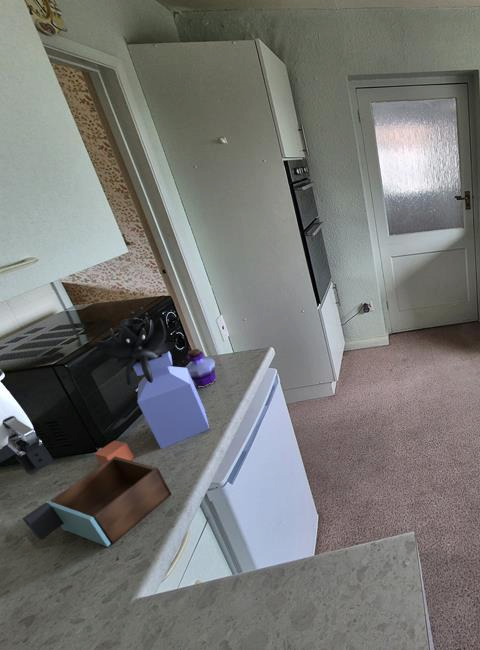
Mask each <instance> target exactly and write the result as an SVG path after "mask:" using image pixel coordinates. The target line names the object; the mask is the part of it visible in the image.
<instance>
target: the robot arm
mask: <svg viewBox="0 0 480 650" xmlns="http://www.w3.org/2000/svg"><path fill="white" fill-rule="evenodd" d="M4 378H5V373H4V371H3V370H2V369H1V367H0V463H2V462H5V460H8V459H9V458H11V457H12V456H14V455H16V456H15V458H16V460H17V461H18V463H19V464H20V466H21V467H22V468H23V469H24V471H25V472H26V474H27V475H31V476H32V475H34V474H36V473H37V472H40V471H41V470H42V469H45V467H47V466H48V465H51V464H52V463H53V462H54V459H53V457H52V455H51V454H50V453H49V451H48V450H47V448H46V447H45V444H44V443H43V442H42V440H41V438H40V437H39V436H38V435H37V434H36V433H37V432H36V431H35V429H34V425H33V424H32V422H31V420H30V418H29V417H28V414H26V412H25V411H24V409H23V408H22V407H21V405H20V404H19V402H18V401H17V400H16V399H15V398H14V396H13V395H12V394H11V392H10V391H9V390H8V389H7V388H6V386H5V385H4V384H3V382H1V381H2V380H3V379H4ZM12 436H13V437H12ZM19 441H21V442H20V445H18V444H17V442H19Z"/></svg>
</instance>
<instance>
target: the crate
mask: <svg viewBox="0 0 480 650" xmlns="http://www.w3.org/2000/svg"><path fill="white" fill-rule="evenodd" d="M170 496H172V492H171V489H169V486H168V484H167V482H166V481H165V479H164V477H163V475H162V473H161V470H160V469H159V468H158V467H155V466H152V465H148V464H144V463H141V462H137V461H133V460H126V459H123V458H119V457H116V456H115V457H113V458H112V459H110V460H109V461H107V462H106V463H104V464H103V465H102V466H101V465H100V466H98V467H97V468H96V469H94V470H93V471H91V472H90V473H88V474H87V475H86V476H84V477H82V478H81V479H80V480H78V481H77V482H75V483H74V484H72V485H71V486H69V487H67V488H66V489H65V490H63V491H62V492H60V493H59V494H58V495H56V496H55V497H53V498H51V499H50V502H53V503H56V504H58V505H61V506H64V507H67V508H69V509H72V510H75V511H78V512H80V513H83V514H86V515H89V516H91V517H93V518H94V519H95V521H96V522H97V524H98V525H99V527H100V528H101V530H102V531H103V533H104V534H105V536H106V537H107V539H108V540H109V542H110V543H111V544H113V545H114V544H116V543H117V542H118V541H119V540H120V539H122V538H123V537H124V536H125V535H126V534H127V533H129V532H130V531H131V530H132V529H133V528H135V526H136V525H137V524H140V522H142V520H144V519H145V518H146V517H147V516H148V515H150V513H152V512H153V511H154V510H155V509H157V507H159V506H160V505H161V504H162V503H163V502H164V501H166V500H167V499H168V498H169V497H170Z"/></svg>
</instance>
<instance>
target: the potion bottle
mask: <svg viewBox="0 0 480 650" xmlns="http://www.w3.org/2000/svg"><path fill="white" fill-rule="evenodd" d="M204 357H205V355H204V352H203V351H202V350H200V348H195V349H191V350H188V351H187V356H186V358H187V361H188V362H190V363H188V364H187V365H186V366H185V367H184V368H187V369H188V372H189V374H190V376H191V379H192V381H193V383H194V384H195V385H196V386H197V385H198V386H205V385H207V384H209V383H212V382H213V381H214V379H216V371H215V370H216V363H215V362H216V361H215V360H214V359H213V358H212V357H206V358H204Z"/></svg>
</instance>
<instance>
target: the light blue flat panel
mask: <svg viewBox="0 0 480 650" xmlns="http://www.w3.org/2000/svg"><path fill="white" fill-rule="evenodd" d="M22 520H23V522H24V523H25V524H26V525H27V527H28V528H29V529H30V530H31V531H32V533H33V534H34V536H35V537H36V538H37V539H38V540H40V541H43V540H44V539H45V538H47V537H48V536H49V535H51V534H52V533H53V532H54V531H56V530H57V529H59V528H60V527H61V529H62V530H64V531H66V532H69V533H72V534H75V535H77V536H80V537H82V538H84V539H87V540H90V541H92V542H94V543H96V544H99V545H103V546H104V547H109V546H110V545H111V544H112V543H110V542H109V540H108V539H107V537H106V536H105V534H104V533H103V531H102V530H101V528H100V527H99V525H98V524H97V522H96V521H95V519H94V518H93V517H91V516H89V515H86V514H83V513H80V512H78V511H75V510H72V509H69V508H67V507H64V506H61V505H58V504H56V503H53V502H51V500H46V501H44V503H43V504H41V505H40V506H39V507H37V508H36V509H34V510H33V511H31V512H30V513H28V514H27V515H25V516H23V517H22Z"/></svg>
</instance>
